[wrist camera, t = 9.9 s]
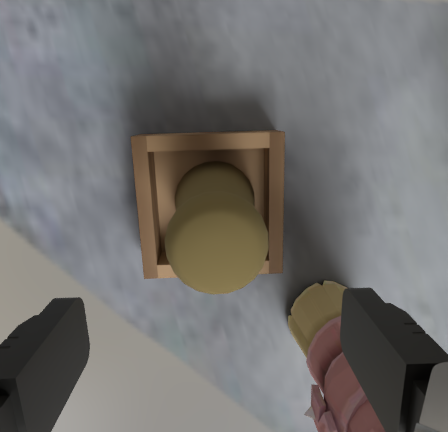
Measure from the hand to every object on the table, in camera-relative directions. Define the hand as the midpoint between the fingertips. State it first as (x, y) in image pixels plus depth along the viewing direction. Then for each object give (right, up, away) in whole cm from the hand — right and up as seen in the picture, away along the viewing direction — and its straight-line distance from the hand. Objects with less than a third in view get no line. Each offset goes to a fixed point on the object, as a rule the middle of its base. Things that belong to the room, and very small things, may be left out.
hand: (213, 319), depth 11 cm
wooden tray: (-1, +5, +17) cm, 17 cm away
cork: (0, +4, +16) cm, 17 cm away
